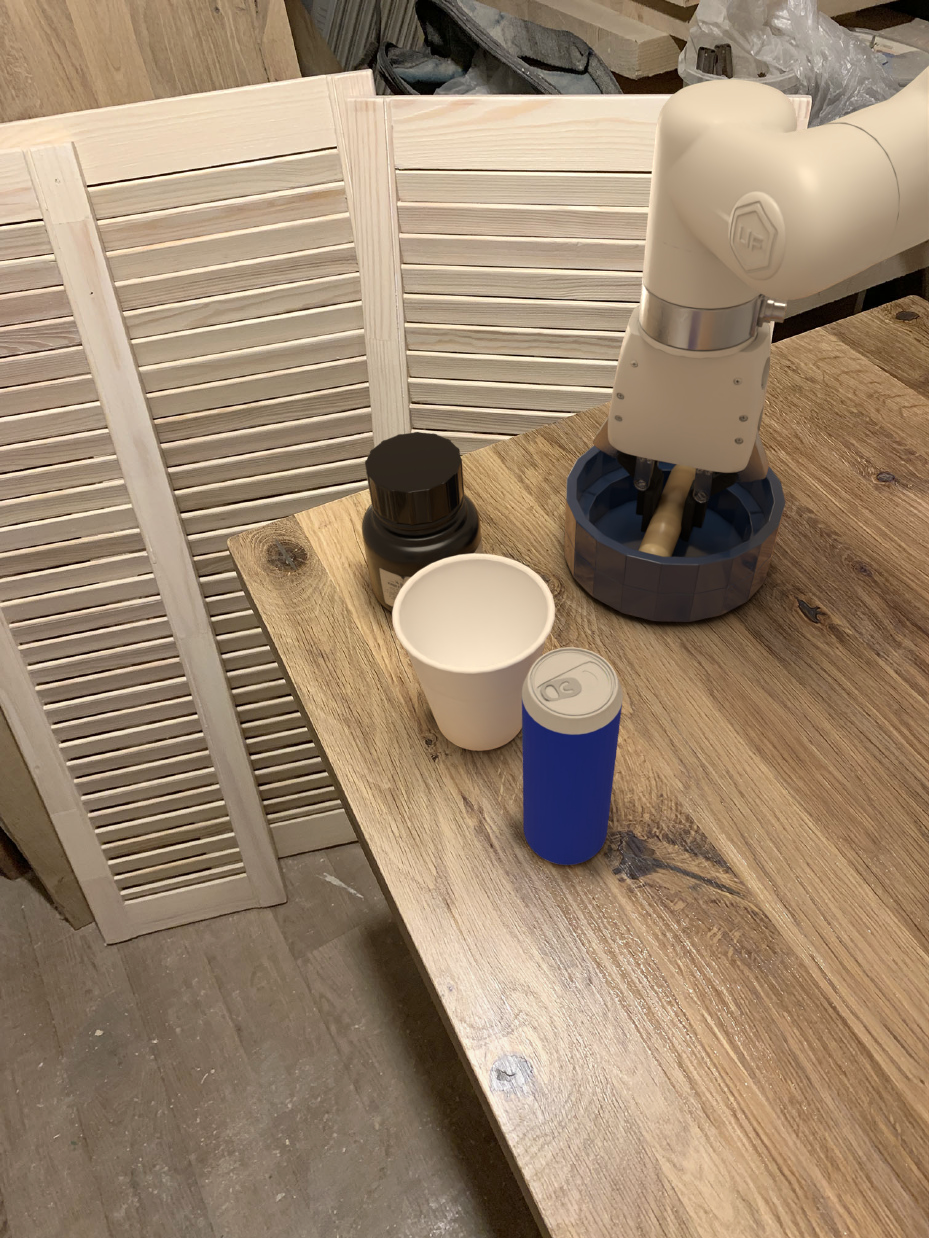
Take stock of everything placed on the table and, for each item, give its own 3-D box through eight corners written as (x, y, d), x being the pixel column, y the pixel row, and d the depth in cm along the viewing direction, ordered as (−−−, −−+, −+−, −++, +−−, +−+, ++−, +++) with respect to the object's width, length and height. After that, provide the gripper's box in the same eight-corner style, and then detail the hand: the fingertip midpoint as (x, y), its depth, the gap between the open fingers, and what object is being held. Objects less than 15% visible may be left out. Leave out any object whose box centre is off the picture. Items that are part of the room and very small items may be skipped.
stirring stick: (672, 476, 76) (675, 452, 74) (701, 482, 75) (705, 458, 74) (632, 575, 69) (634, 551, 67) (663, 582, 68) (667, 559, 66)
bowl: (718, 474, 80) (730, 412, 76) (804, 603, 70) (824, 539, 65) (540, 509, 79) (541, 446, 74) (600, 646, 68) (605, 583, 63)
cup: (577, 747, 62) (583, 639, 54) (439, 798, 60) (424, 694, 52) (517, 645, 68) (515, 534, 60) (390, 688, 66) (370, 580, 58)
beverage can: (583, 785, 60) (595, 631, 49) (621, 852, 57) (642, 702, 46) (510, 812, 59) (505, 661, 48) (544, 882, 56) (547, 736, 45)
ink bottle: (392, 640, 69) (372, 520, 61) (350, 568, 75) (326, 448, 66) (507, 596, 72) (504, 473, 63) (459, 529, 77) (449, 408, 69)
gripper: (840, 296, 58) (782, 517, 72) (594, 263, 63) (583, 476, 77) (823, 358, 54) (765, 582, 67) (559, 317, 59) (554, 534, 72)
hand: (668, 524), depth 72 cm, fingers closed on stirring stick, 2 cm apart
